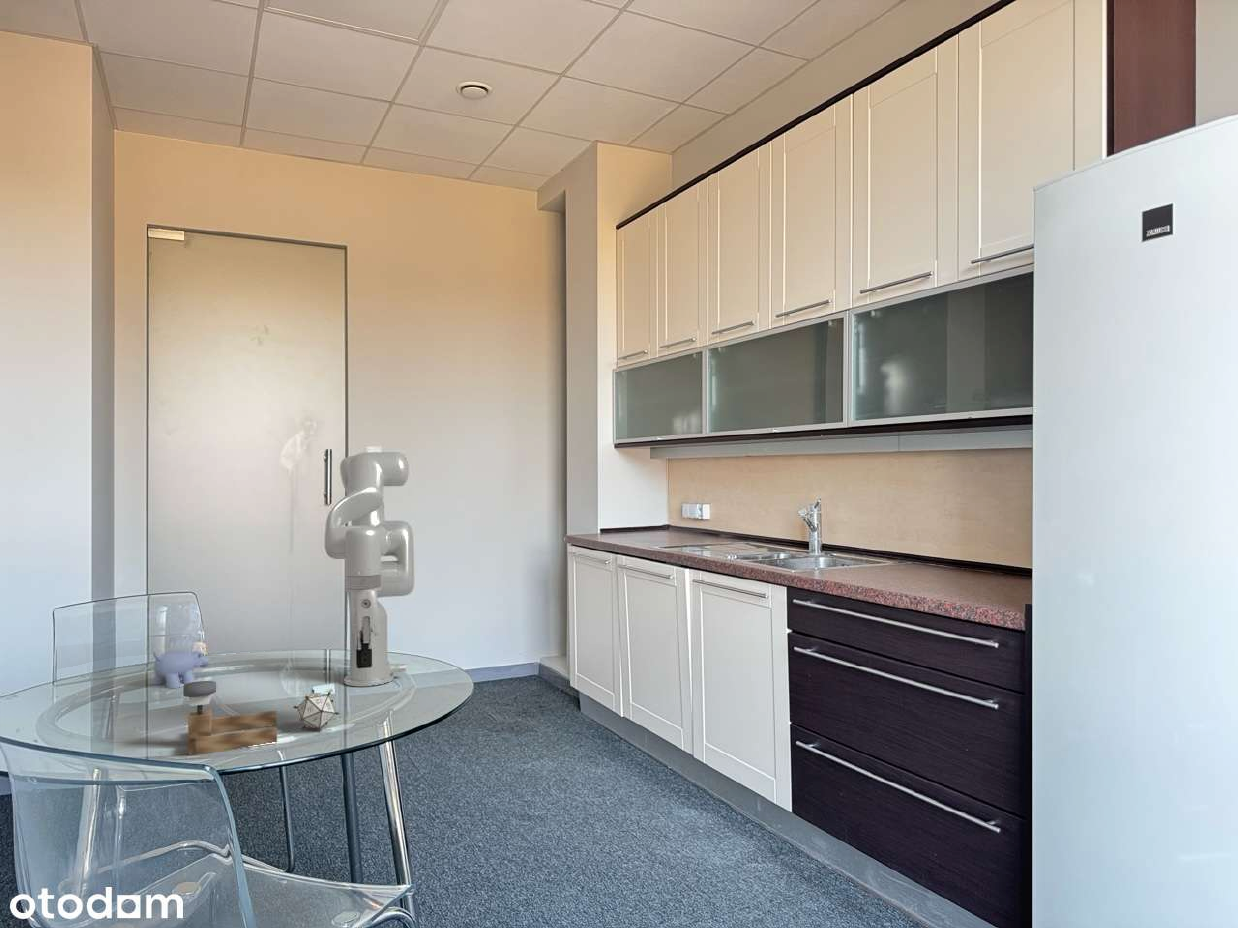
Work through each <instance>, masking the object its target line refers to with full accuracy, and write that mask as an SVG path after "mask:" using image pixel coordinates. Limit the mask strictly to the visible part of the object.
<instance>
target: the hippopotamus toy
mask: <svg viewBox="0 0 1238 928" xmlns="http://www.w3.org/2000/svg"><path fill="white" fill-rule="evenodd" d="M152 654H153V659H155V661H154V663H153V672H154V678H153V681H152V685H154V686H158V685H160V686H161V685H167V688H168V689H172V690H174V689H179V688H183V686H184V685H185V684H188V683H192V682H197V681H198V680H197V679H196V676H195V673H194V671H193V670H194V669H195V668H197V667H198V668H199V667H200V668H205V667H208V666H210V663H209V662H210V661H211V659H210V658H211V657H210V656H206V655H205V653H203V652H202V651H200V650H196V651H192V650H186V649H176V650H175V649H174V650H170V651H167V652H165V653H162V654H161V655H159V654H158V653H157V652H153V653H152ZM181 681H182V683H181Z"/></svg>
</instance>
